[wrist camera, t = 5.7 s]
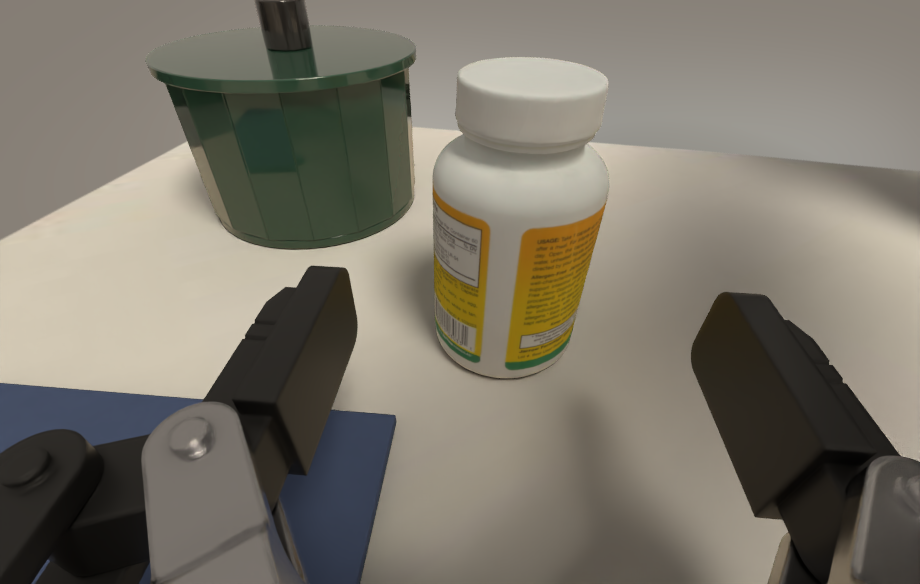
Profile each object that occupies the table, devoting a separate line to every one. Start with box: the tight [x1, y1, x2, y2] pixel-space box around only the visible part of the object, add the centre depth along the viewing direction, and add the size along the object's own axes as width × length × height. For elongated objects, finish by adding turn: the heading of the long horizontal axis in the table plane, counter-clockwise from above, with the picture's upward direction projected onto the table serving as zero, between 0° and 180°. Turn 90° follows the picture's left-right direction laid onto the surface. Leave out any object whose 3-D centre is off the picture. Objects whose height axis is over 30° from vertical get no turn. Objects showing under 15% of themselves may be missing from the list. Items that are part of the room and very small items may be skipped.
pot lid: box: [146, 0, 416, 94], centre depth 21 cm, size 12×12×3 cm
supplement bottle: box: [433, 57, 609, 378], centre depth 15 cm, size 5×5×10 cm
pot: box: [166, 68, 415, 249], centre depth 24 cm, size 11×11×8 cm
